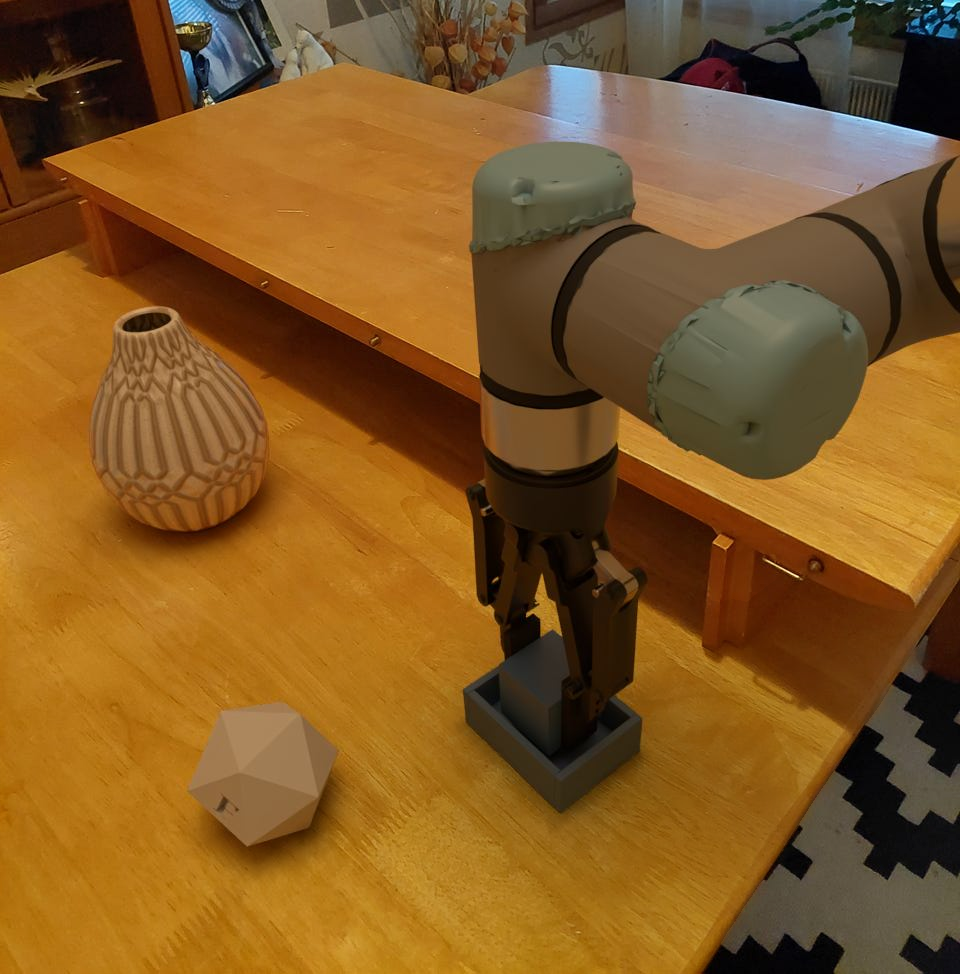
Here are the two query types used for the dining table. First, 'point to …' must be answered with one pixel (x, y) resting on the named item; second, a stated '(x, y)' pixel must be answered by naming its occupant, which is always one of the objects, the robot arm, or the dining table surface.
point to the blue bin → (562, 770)
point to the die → (263, 771)
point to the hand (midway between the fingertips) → (550, 712)
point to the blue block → (536, 690)
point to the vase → (175, 426)
